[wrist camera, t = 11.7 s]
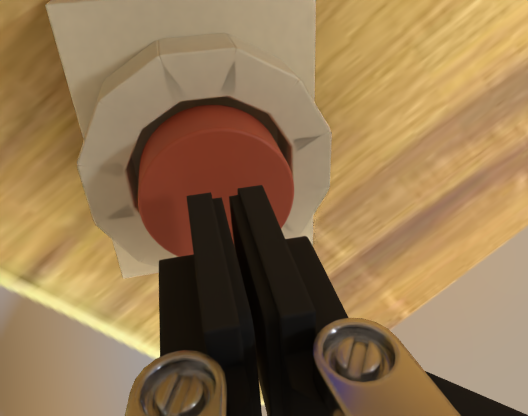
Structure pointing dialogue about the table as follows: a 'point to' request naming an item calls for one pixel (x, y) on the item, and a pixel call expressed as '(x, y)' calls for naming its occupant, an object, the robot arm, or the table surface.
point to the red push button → (207, 170)
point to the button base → (186, 95)
